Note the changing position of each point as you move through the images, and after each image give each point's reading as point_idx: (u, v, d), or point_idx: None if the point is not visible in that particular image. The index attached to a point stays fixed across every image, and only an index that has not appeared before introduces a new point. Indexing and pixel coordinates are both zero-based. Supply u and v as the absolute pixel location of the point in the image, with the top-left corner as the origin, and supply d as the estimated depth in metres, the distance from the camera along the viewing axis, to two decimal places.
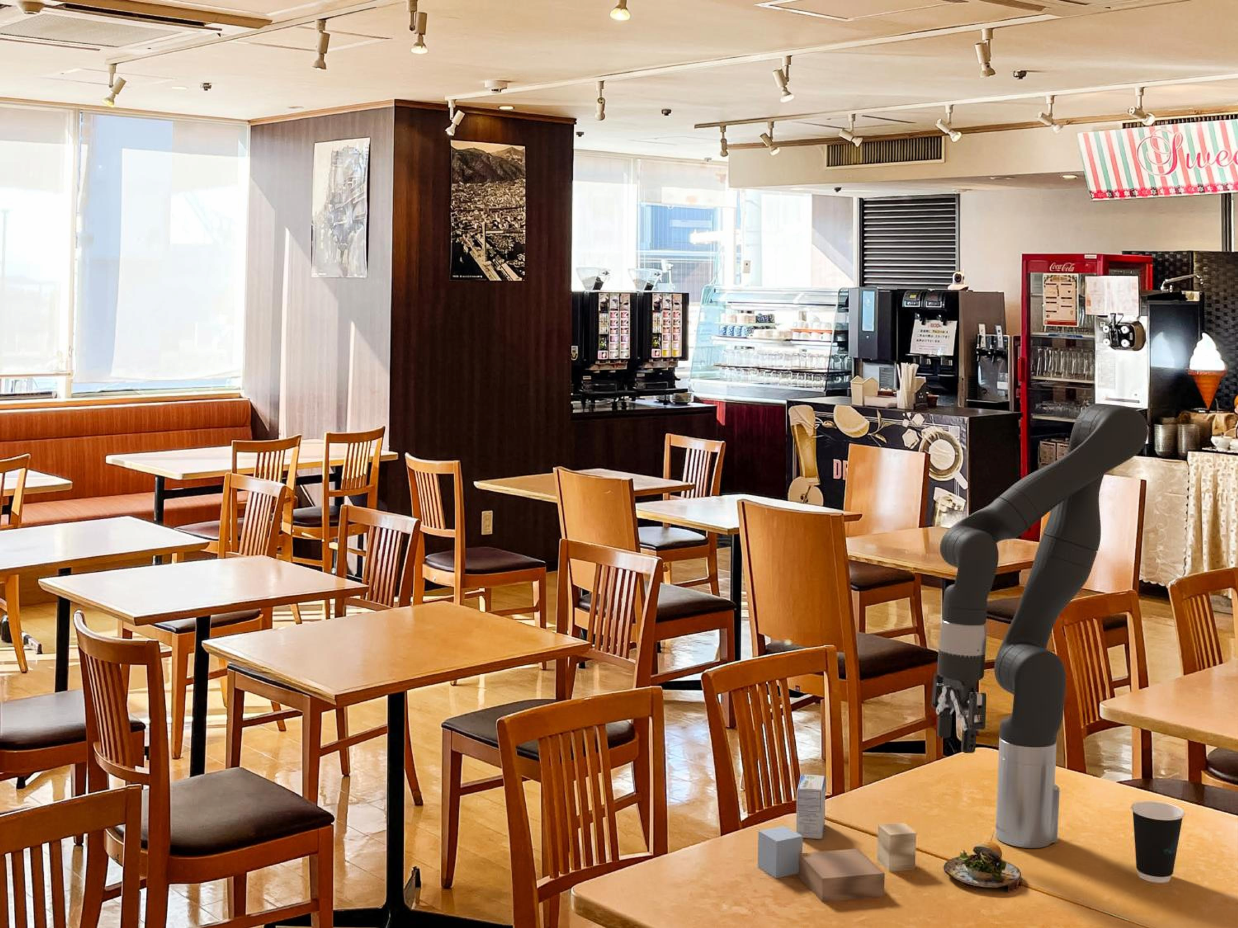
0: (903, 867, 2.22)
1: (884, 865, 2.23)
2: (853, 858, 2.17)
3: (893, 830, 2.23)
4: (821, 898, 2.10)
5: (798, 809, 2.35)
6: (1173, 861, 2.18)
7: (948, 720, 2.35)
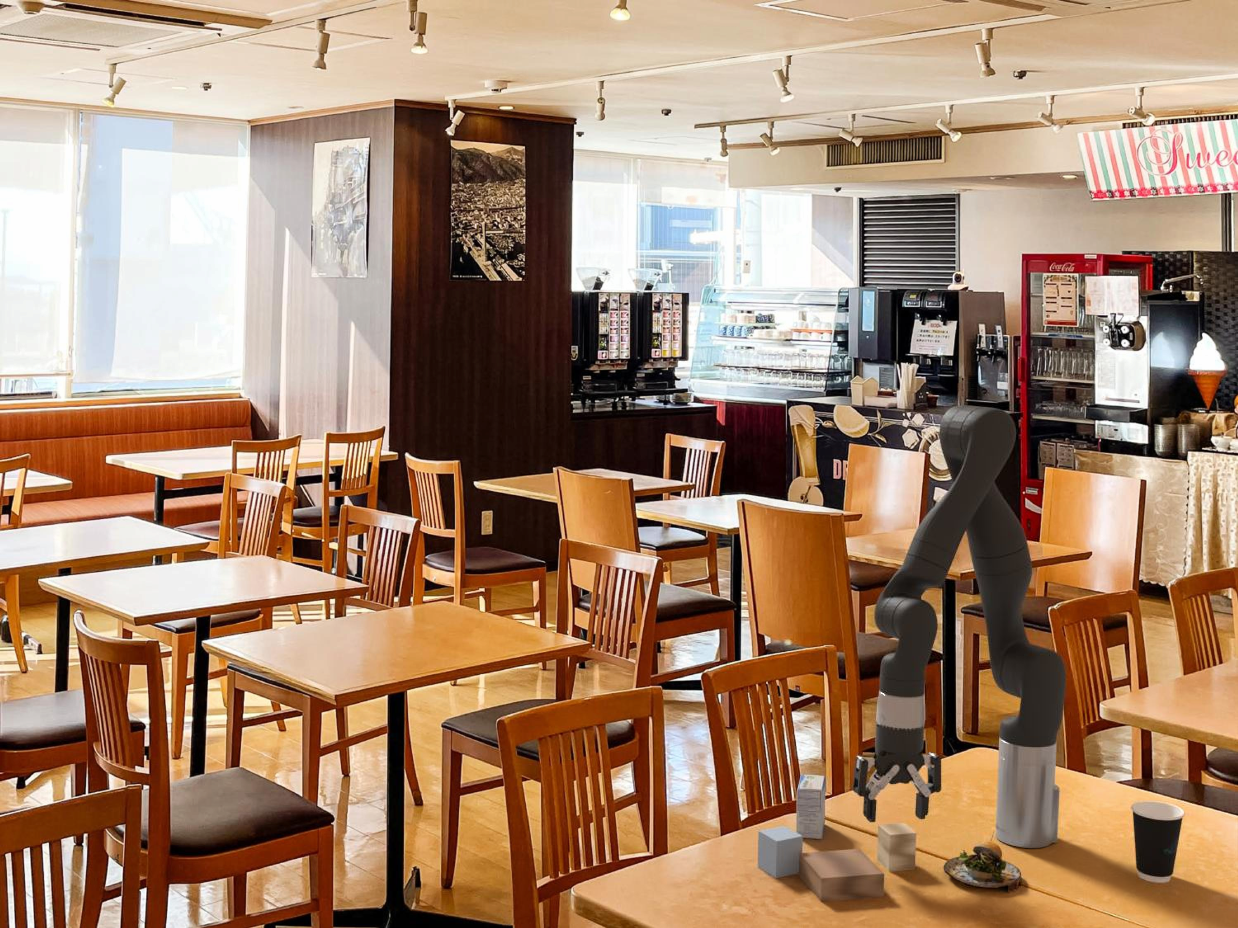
0: (903, 867, 2.22)
1: (884, 865, 2.23)
2: (853, 858, 2.17)
3: (893, 830, 2.23)
4: (820, 898, 2.10)
5: (798, 809, 2.35)
6: (1173, 861, 2.18)
7: None
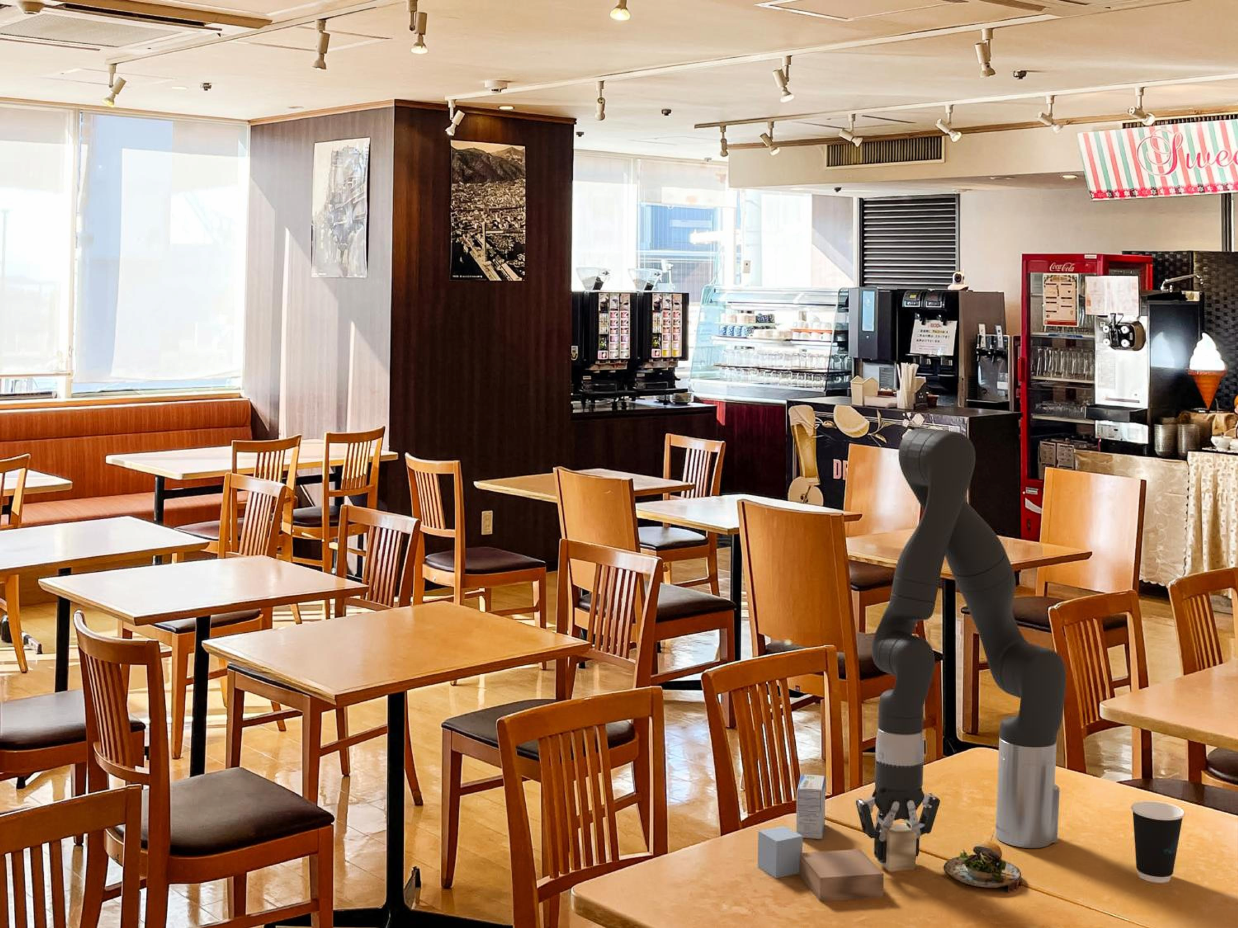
0: (903, 867, 2.22)
1: (884, 865, 2.23)
2: (854, 858, 2.17)
3: (893, 830, 2.23)
4: (819, 897, 2.10)
5: (798, 809, 2.35)
6: (1173, 861, 2.18)
7: None
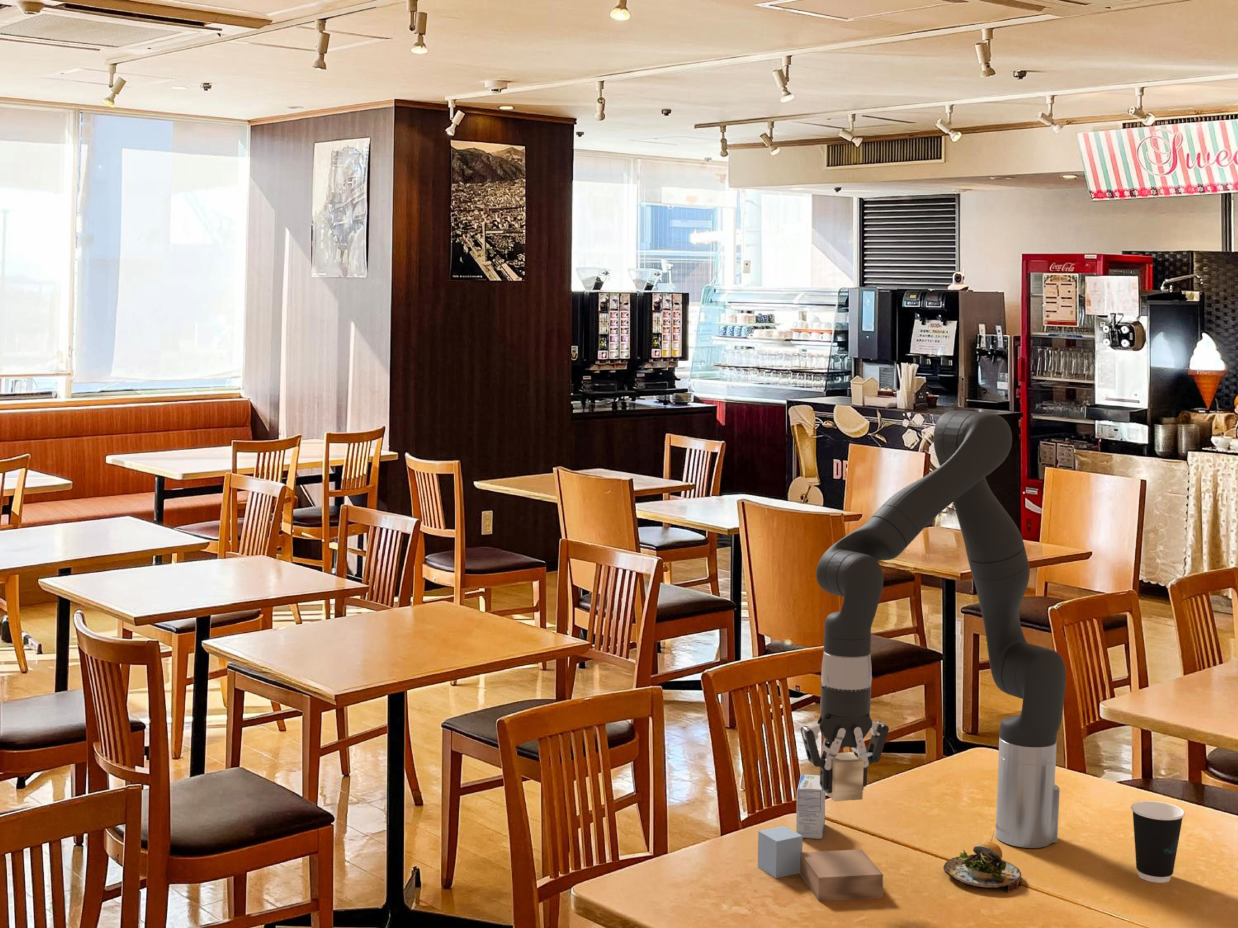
0: (850, 797, 2.12)
1: (830, 795, 2.13)
2: (854, 859, 2.17)
3: (839, 758, 2.13)
4: (818, 897, 2.10)
5: (798, 809, 2.35)
6: (1173, 861, 2.18)
7: None
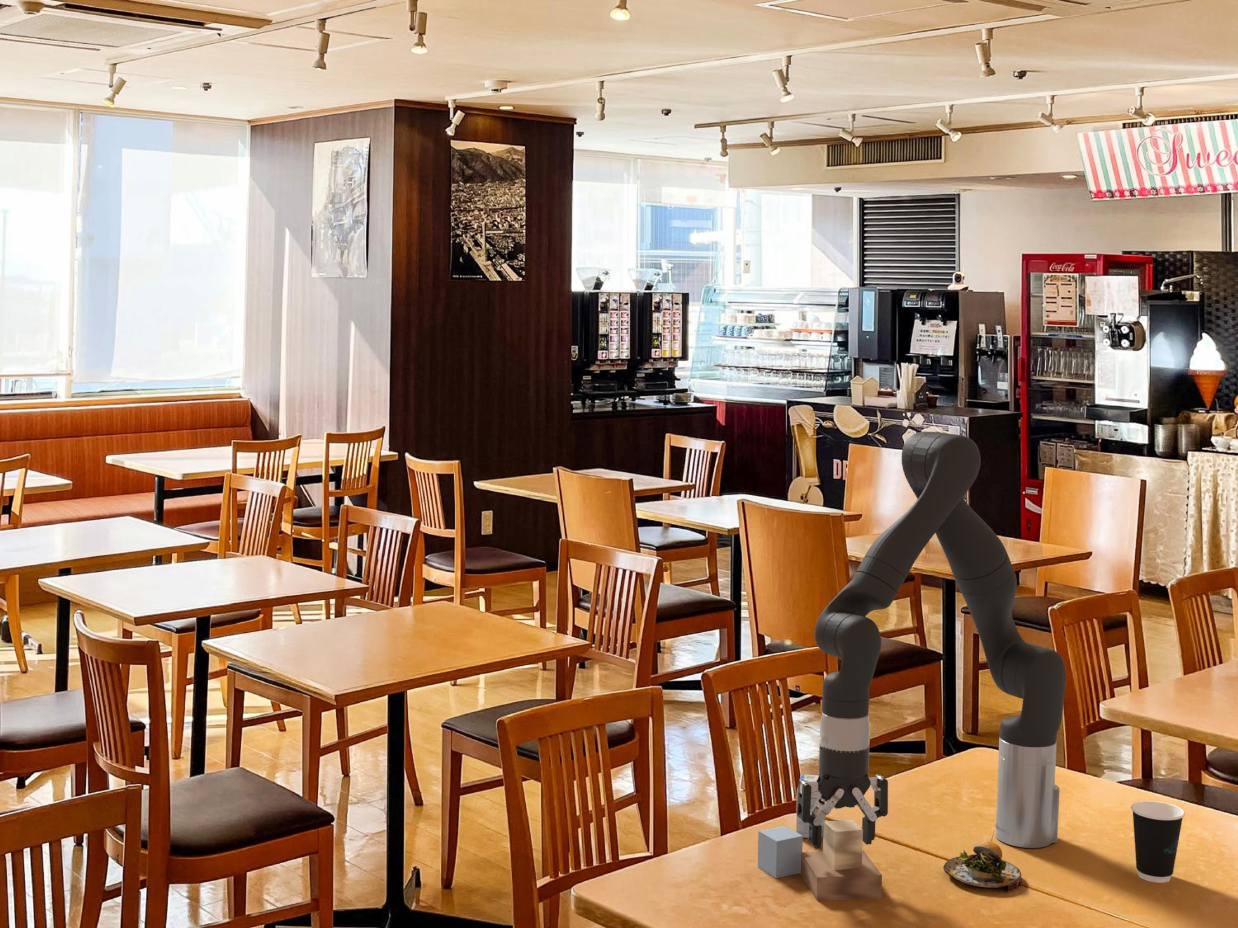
0: (849, 865, 2.13)
1: (830, 863, 2.14)
2: None
3: (838, 827, 2.14)
4: (816, 897, 2.10)
5: None
6: (1173, 861, 2.18)
7: None
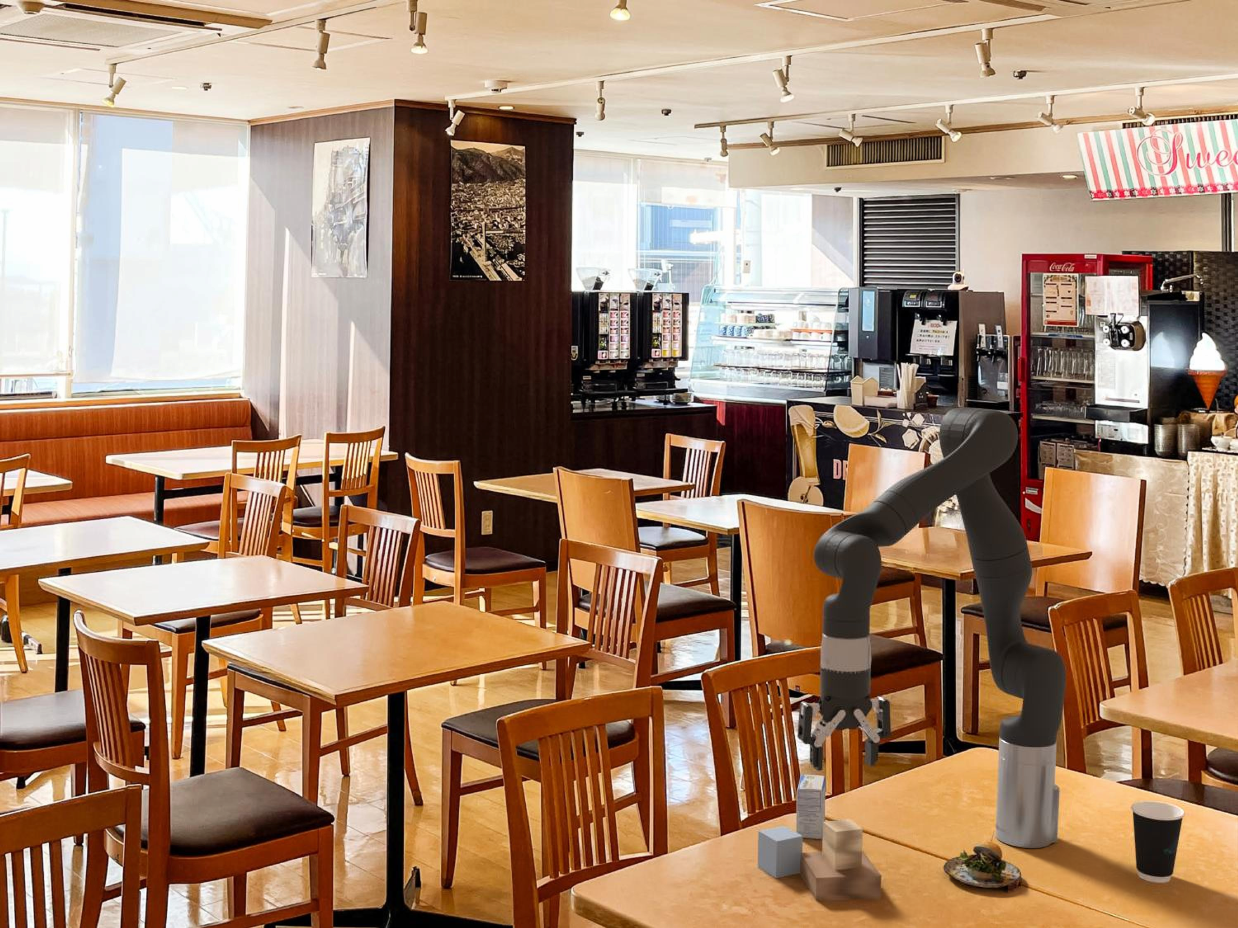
0: (849, 865, 2.14)
1: (830, 863, 2.14)
2: None
3: (838, 826, 2.14)
4: (815, 897, 2.10)
5: (798, 809, 2.35)
6: (1173, 861, 2.18)
7: None
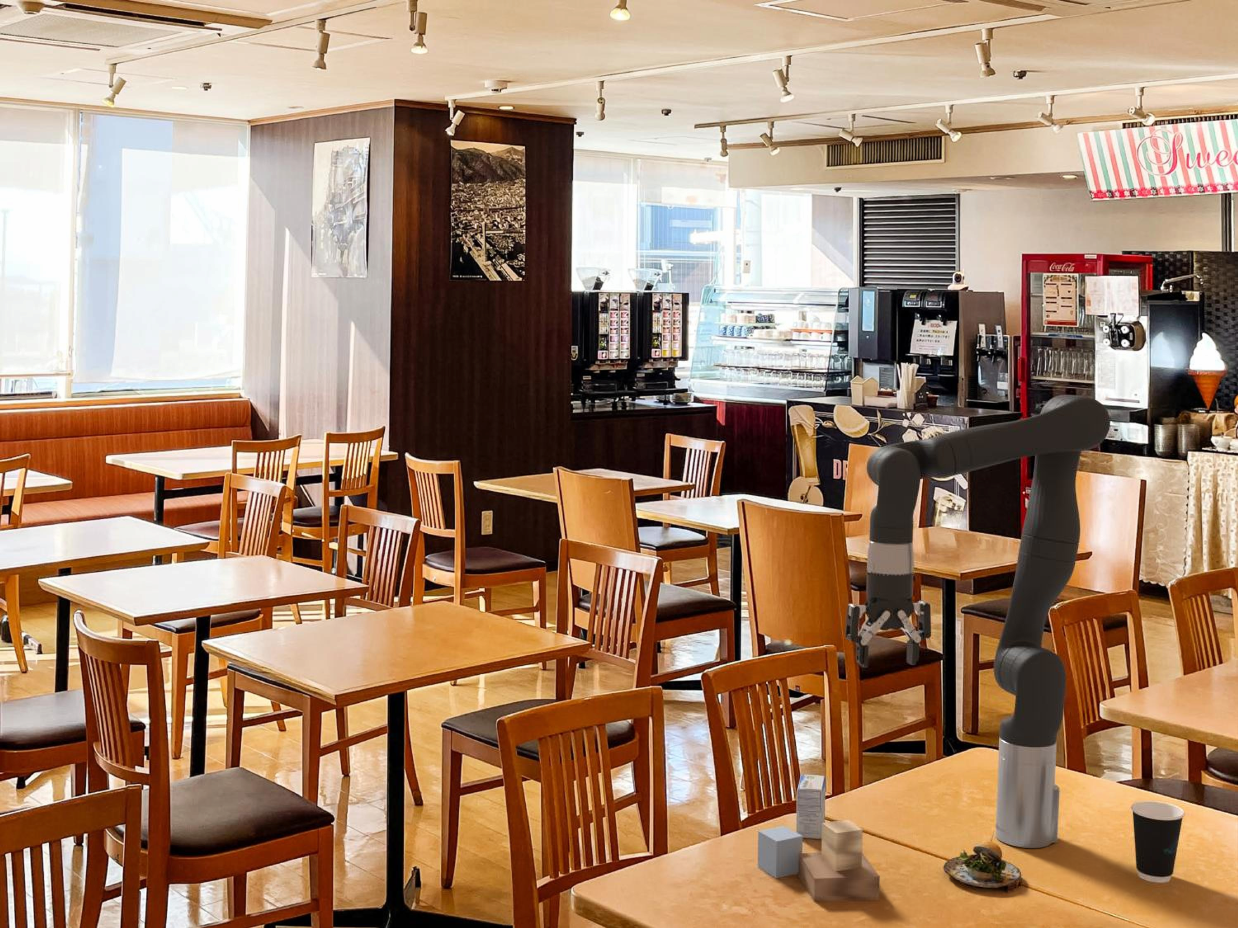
0: (850, 866, 2.13)
1: (830, 865, 2.14)
2: None
3: (838, 828, 2.14)
4: (813, 898, 2.10)
5: (798, 809, 2.35)
6: (1173, 861, 2.18)
7: None
